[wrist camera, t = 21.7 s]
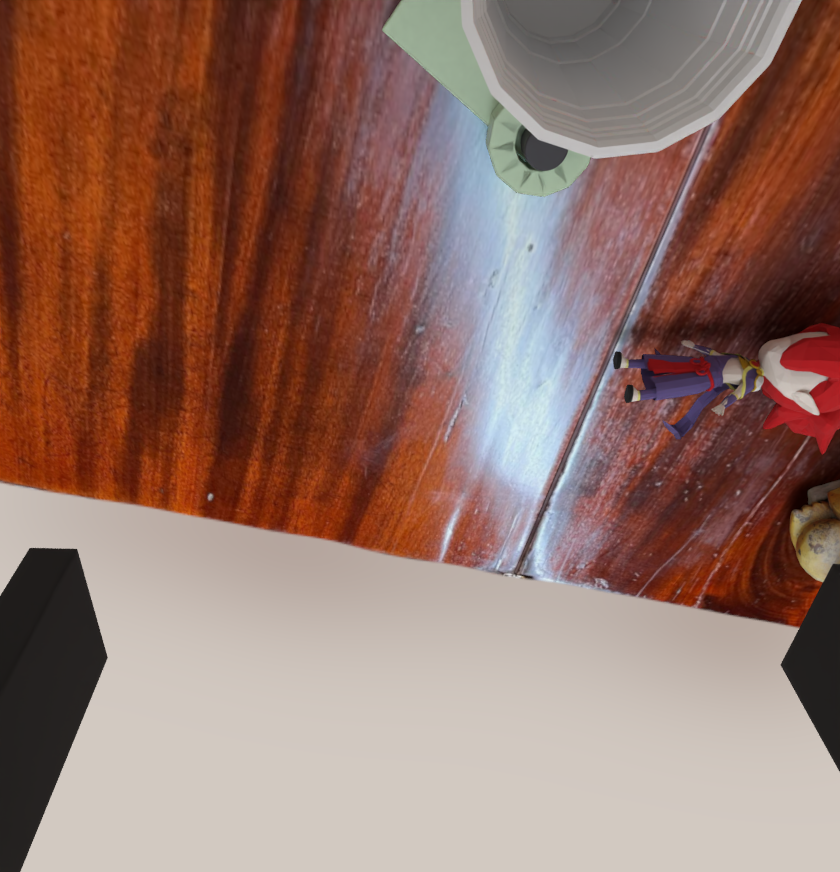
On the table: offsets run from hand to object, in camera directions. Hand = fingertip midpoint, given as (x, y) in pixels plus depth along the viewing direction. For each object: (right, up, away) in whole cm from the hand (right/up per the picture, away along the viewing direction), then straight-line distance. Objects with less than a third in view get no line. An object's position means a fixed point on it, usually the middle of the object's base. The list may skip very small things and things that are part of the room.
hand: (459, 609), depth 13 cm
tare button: (+5, +17, +21) cm, 27 cm away
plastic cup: (+6, +24, +18) cm, 30 cm away
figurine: (+18, +8, +30) cm, 36 cm away
